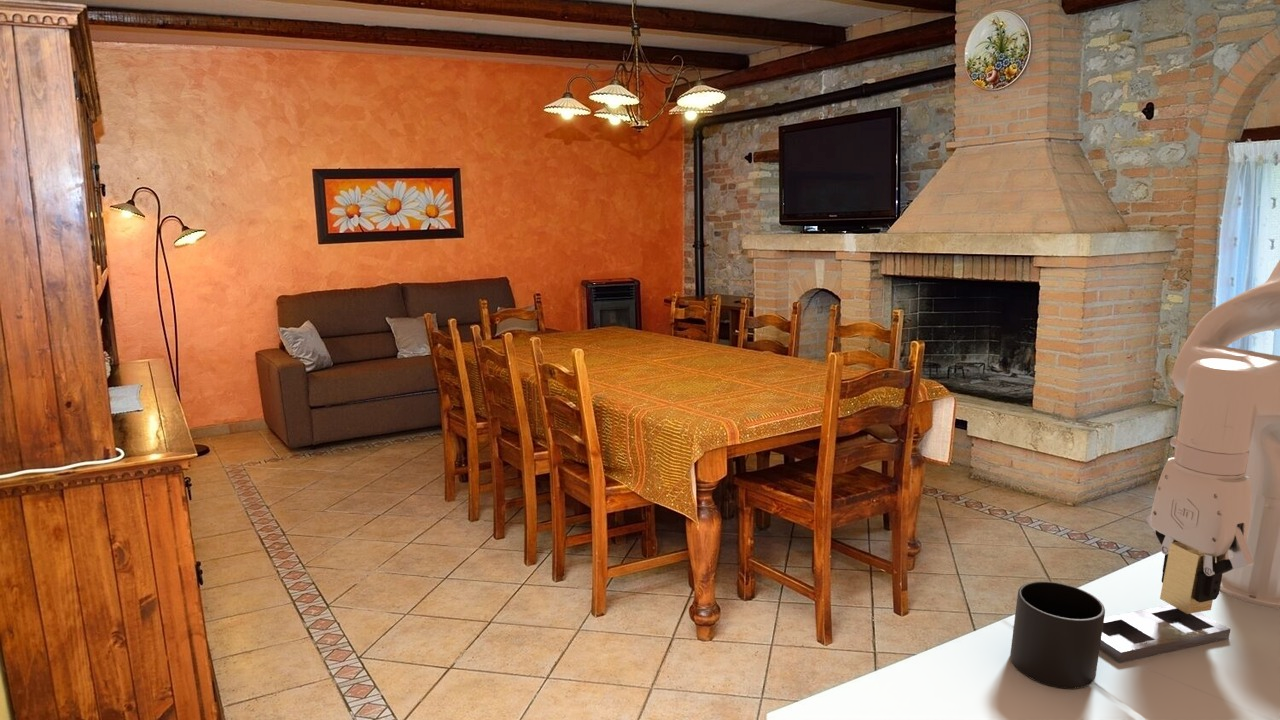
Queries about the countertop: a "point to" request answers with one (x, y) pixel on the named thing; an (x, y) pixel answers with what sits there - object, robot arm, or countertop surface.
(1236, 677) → the countertop surface
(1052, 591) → the mug
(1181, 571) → the wooden block
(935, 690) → the countertop surface
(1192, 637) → the grey slotted board
